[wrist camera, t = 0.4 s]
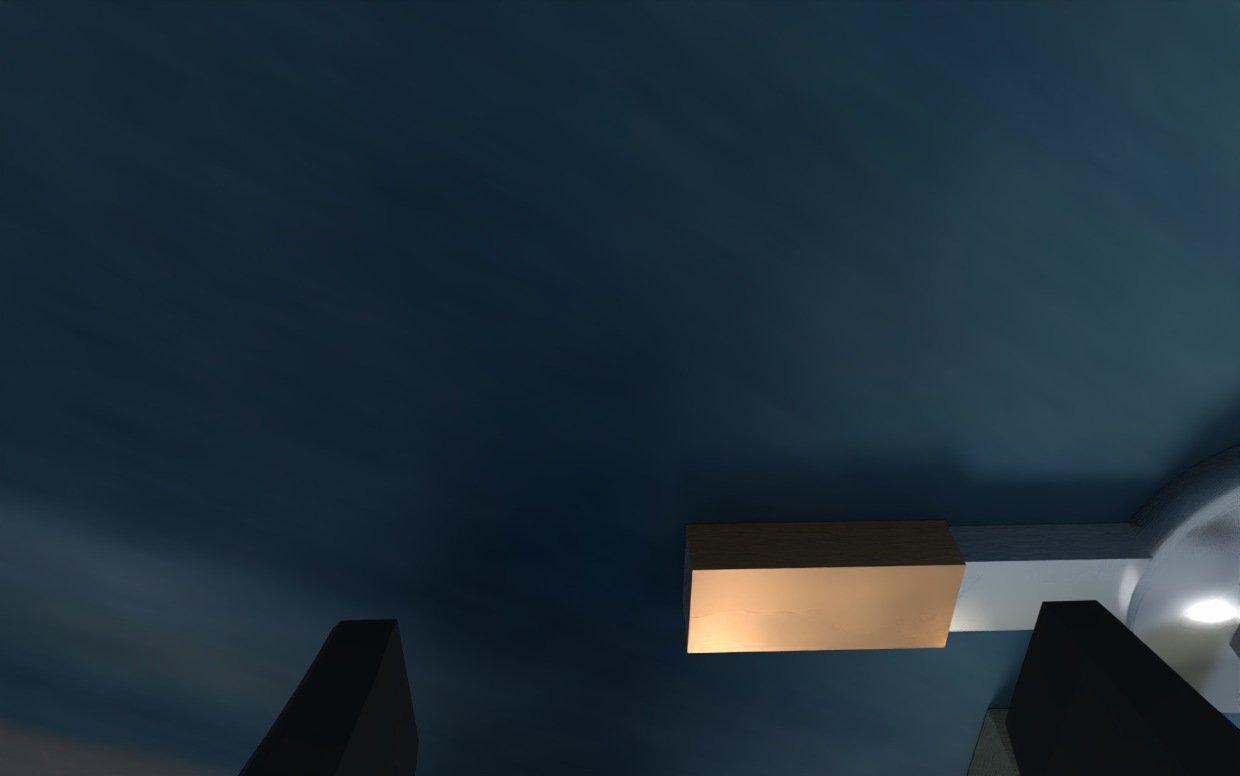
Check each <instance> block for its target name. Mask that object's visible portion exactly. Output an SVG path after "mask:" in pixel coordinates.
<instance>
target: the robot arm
mask: <svg viewBox="0 0 1240 776" xmlns="http://www.w3.org/2000/svg"><path fill="white" fill-rule="evenodd" d="M1005 725H1006V728H1007V732H1008V735H1009V738H1010V742H1011V745H1012V749H1013V752H1014V756H1015V759H1016V763H1017V766H1018V770H1019V773H1020V776H1240V729H1239V728H1237V727H1236V726H1235V725H1234V724H1233V723H1232V722H1231V721H1229V720H1228V719H1227V718H1226V717H1225V716H1224V715H1223V714H1222V713H1221V712H1219V711H1218V710H1217V709H1216V708H1215V707H1214V706H1213V705H1212V704H1210V703H1209V702H1208V701H1207V700H1206V699H1205V698H1204V697H1203V696H1202V695H1201V694H1199V693H1198V692H1197V691H1196V690H1195V689H1194V688H1193V687H1192V686H1191V685H1190V684H1188V683H1187V682H1186V681H1185V680H1184V679H1183V678H1182V677H1181V676H1180V675H1179V674H1178V673H1176V672H1175V671H1174V670H1173V669H1172V668H1171V667H1170V666H1169V665H1168V664H1167V663H1166V662H1164V661H1163V660H1162V659H1161V658H1160V657H1159V656H1158V655H1157V654H1156V653H1155V652H1154V651H1152V650H1151V649H1150V648H1149V647H1148V646H1147V645H1146V644H1145V643H1144V642H1143V641H1142V640H1140V639H1139V638H1138V637H1137V636H1136V635H1135V634H1134V633H1133V632H1132V631H1131V630H1130V629H1128V628H1127V627H1126V626H1125V625H1124V624H1123V623H1122V622H1121V621H1120V620H1119V619H1117V618H1116V617H1115V616H1114V615H1113V614H1112V613H1111V612H1110V611H1108V610H1107V609H1106V608H1105V607H1104V606H1103V605H1102V604H1100V603H1099V602H1098V601H1097V600H1077V601H1042V605H1041V608H1040V611H1039V614H1038V617H1037V621H1036V624H1035V627H1034V630H1033V633H1032V637H1031V640H1030V643H1029V646H1028V649H1027V653H1026V656H1025V659H1024V662H1023V665H1022V668H1021V672H1020V675H1019V678H1018V681H1017V684H1016V688H1015V691H1014V694H1013V697H1012V700H1011V704H1010V707H1009V710H1008V713H1007V716H1006V720H1005ZM418 741H419V739H418V733H417V728H416V722H415V717H414V711H413V706H412V700H411V695H410V689H409V683H408V678H407V672H406V667H405V661H404V656H403V650H402V645H401V639H400V634H399V628H398V622H397V619H384V620H348V621H341V622H340V623H339V624H337V625H336V626H335V627H334V628H333V629H332V631H331V633H330V634H329V636H328V638H327V639H326V641H325V643H324V645H323V646H322V648H321V650H320V651H319V653H318V655H317V656H316V658H315V660H314V661H313V663H312V665H311V666H310V668H309V670H308V671H307V673H306V674H305V676H304V678H303V679H302V681H301V682H300V684H299V686H298V687H297V689H296V690H295V692H294V693H293V695H292V697H291V698H290V700H289V701H288V703H287V704H286V706H285V707H284V709H283V710H282V712H281V713H280V715H279V716H278V718H277V720H276V721H275V723H274V724H273V726H272V727H271V729H270V730H269V732H268V733H267V735H266V736H265V737H264V739H263V740H262V742H261V743H260V745H259V746H258V748H257V749H256V750H255V752H254V753H253V755H252V756H251V758H250V759H249V760H248V762H247V763H246V765H245V766H244V768H243V769H242V771H241V772H240V773H239V775H238V776H415V771H416V761H417V751H418Z"/></svg>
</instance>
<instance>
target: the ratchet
mask: <svg viewBox="0 0 1240 776" xmlns="http://www.w3.org/2000/svg"><path fill="white" fill-rule="evenodd" d="M1077 600H1097V601H1098V602H1099V603H1100V604H1102V605H1103V606H1104V607H1105V608H1106V609H1107V610H1108V611H1110V612H1111V613H1112V614H1113V615H1114V616H1115V617H1116V618H1117V619H1119V620H1120V621H1121V622H1122V623H1123V624H1124V625H1125V626H1126V627H1127V628H1128V629H1130V630H1131V631H1132V632H1133V633H1134V634H1135V635H1136V636H1137V637H1138V638H1139V639H1140V640H1142V641H1143V642H1144V643H1145V644H1146V645H1147V646H1148V647H1149V648H1150V649H1151V650H1152V651H1154V652H1155V653H1156V654H1157V655H1158V656H1159V657H1160V658H1161V659H1162V660H1163V661H1164V662H1166V663H1167V664H1168V665H1169V666H1170V667H1171V668H1172V669H1173V670H1174V671H1175V672H1176V673H1178V674H1179V675H1180V676H1181V677H1182V678H1183V679H1184V680H1185V681H1186V682H1187V683H1188V684H1190V685H1191V686H1192V687H1193V688H1194V689H1195V690H1196V691H1197V692H1198V693H1199V694H1201V695H1202V696H1203V697H1204V698H1205V699H1206V700H1207V701H1208V702H1209V703H1210V704H1212V705H1213V706H1214V707H1215V708H1216V709H1217V710H1218V711H1219V712H1224V713H1240V444H1239V445H1236V446H1233V447H1231V448H1229V449H1227V450H1225V451H1222V452H1220V453H1218V454H1216V455H1214V456H1211V457H1210V458H1208V459H1206V460H1204V461H1202V462H1201V463H1199V464H1197V465H1195V466H1194V467H1192V468H1190V469H1189V470H1187V471H1186V472H1184V473H1183V474H1181V475H1180V476H1178V477H1177V478H1175V479H1174V480H1172V481H1171V482H1170V483H1169V484H1167V485H1166V486H1165V487H1164V488H1162V489H1161V490H1160V491H1159V492H1158V493H1156V494H1155V495H1154V496H1153V497H1152V498H1151V499H1150V500H1149V501H1148V502H1147V503H1146V504H1145V505H1144V506H1143V507H1142V508H1141V509H1140V510H1139V511H1138V512H1137V513H1136V514H1135V516H1134V517H1133V518H1132V519H1131V521H1130V522H1129V523H1097V524H1043V525H988V526H948V525H947V523H946V520H904V521H848V522H793V523H738V524H687V526H686V545H685V564H684V583H683V602H682V607H683V616H684V625H685V633H686V642H687V651H688V653H706V652H752V651H798V650H844V649H890V648H936V647H945V643H946V640H947V636H948V632H949V631H993V630H1034V627H1035V624H1036V621H1037V617H1038V614H1039V611H1040V608H1041V605H1042V601H1077Z"/></svg>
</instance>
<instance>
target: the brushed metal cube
mask: <svg viewBox="0 0 1240 776" xmlns="http://www.w3.org/2000/svg"><path fill="white" fill-rule="evenodd" d="M1008 710H1009V709H988V712H987V715H986V718H985V721H984V724H983V727H982V731H981V734H980V737H979V740H978V743H977V747H976V750H975V753H974V756H973V759H972V762H971V766H970V769H969V772H968V775H967V776H1020V773H1019V770H1018V766H1017V763H1016V759H1015V756H1014V752H1013V749H1012V745H1011V742H1010V738H1009V735H1008V732H1007V728H1006V725H1005V720H1006V716H1007V713H1008Z"/></svg>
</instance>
